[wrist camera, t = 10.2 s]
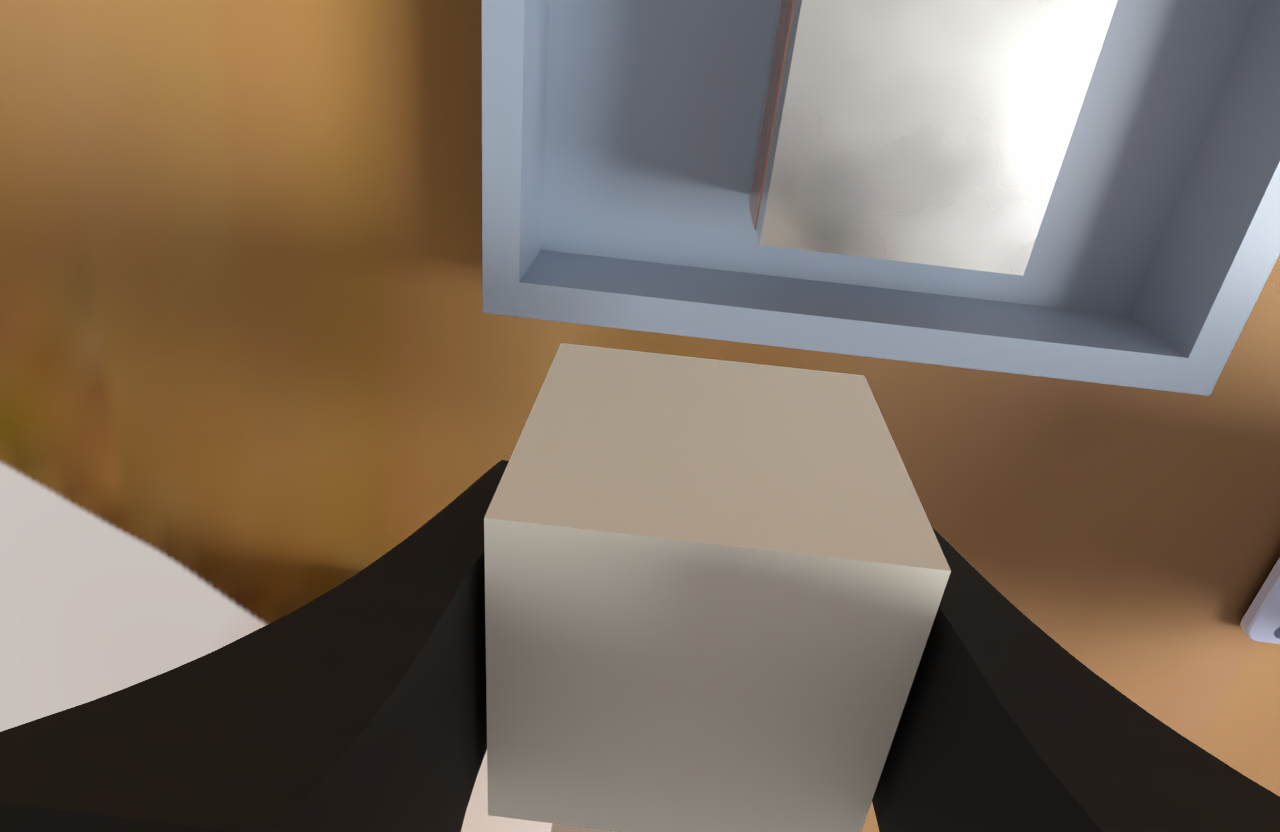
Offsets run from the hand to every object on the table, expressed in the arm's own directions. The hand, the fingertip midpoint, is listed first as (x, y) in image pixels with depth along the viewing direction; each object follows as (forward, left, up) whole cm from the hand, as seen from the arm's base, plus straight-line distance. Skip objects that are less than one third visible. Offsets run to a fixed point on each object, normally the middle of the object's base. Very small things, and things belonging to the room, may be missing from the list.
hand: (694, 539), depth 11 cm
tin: (-3, -6, -9) cm, 11 cm away
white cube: (0, 0, -1) cm, 1 cm away
